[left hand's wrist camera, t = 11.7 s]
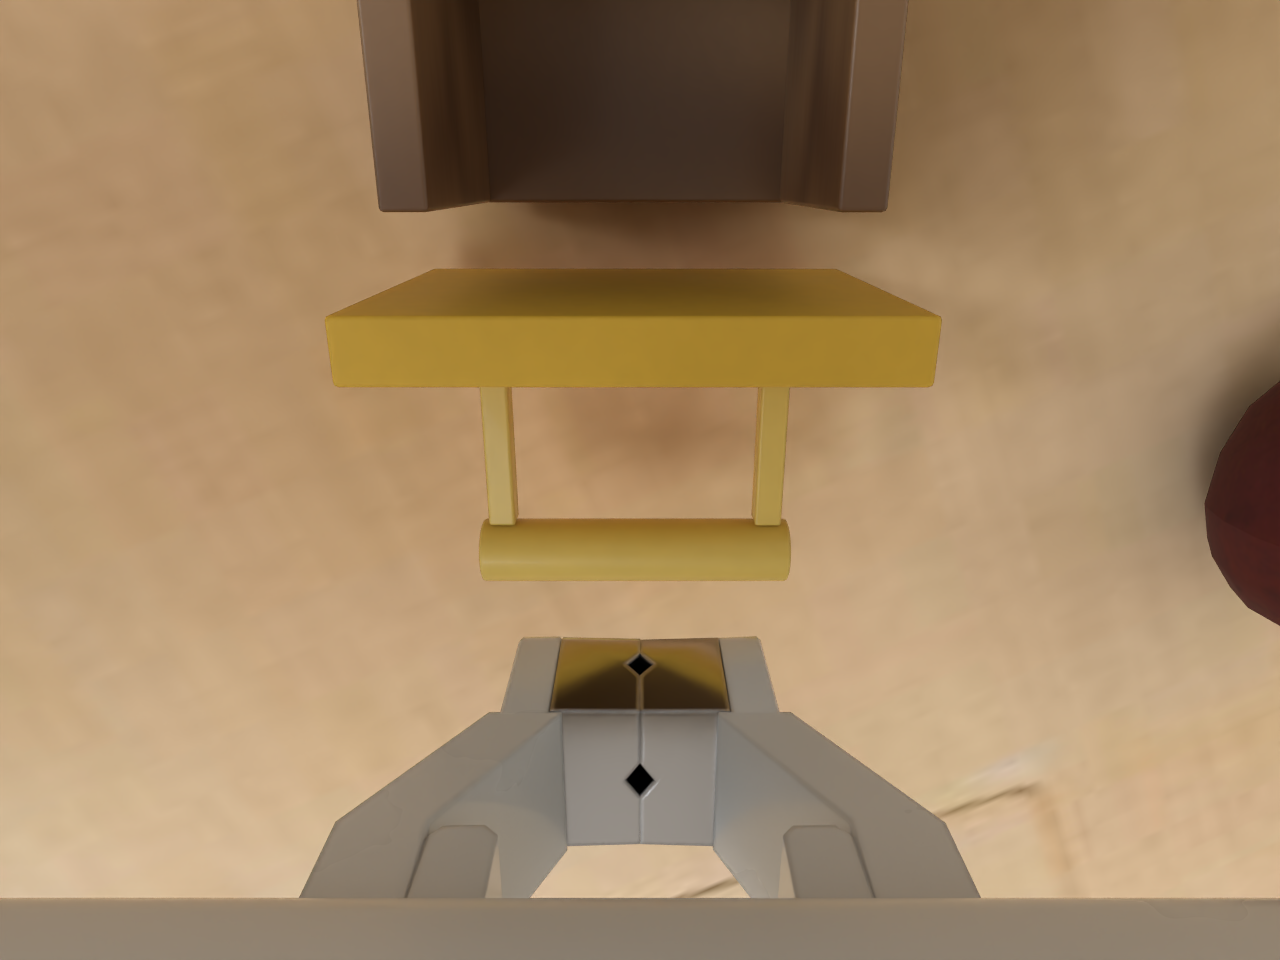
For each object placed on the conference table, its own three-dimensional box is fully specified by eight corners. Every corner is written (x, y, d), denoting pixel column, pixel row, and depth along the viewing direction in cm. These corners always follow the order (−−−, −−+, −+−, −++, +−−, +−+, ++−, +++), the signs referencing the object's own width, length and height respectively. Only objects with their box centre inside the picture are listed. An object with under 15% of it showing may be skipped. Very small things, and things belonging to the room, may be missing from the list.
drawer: (818, 518, 22) (898, 671, 15) (453, 519, 22) (370, 671, 15) (917, -677, 14) (1179, -1482, 7) (349, -679, 14) (77, -1483, 7)
